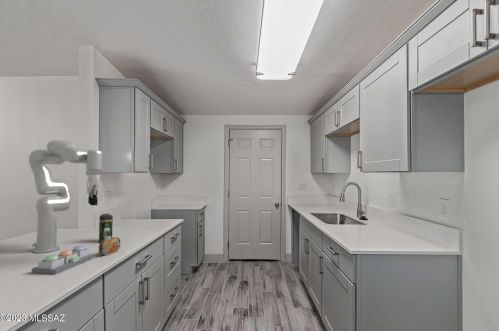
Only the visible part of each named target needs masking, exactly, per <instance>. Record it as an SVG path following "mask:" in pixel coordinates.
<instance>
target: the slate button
mask: <svg viewBox="0 0 499 331" xmlns="http://www.w3.org/2000/svg"><path fill="white" fill-rule="evenodd" d="M72 250H73V252H81V251H84V250H85V245H77V246H74V247H73V249H72Z"/></svg>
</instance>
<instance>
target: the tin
mask: <svg viewBox="0 0 499 331" xmlns="http://www.w3.org/2000/svg"><path fill="white" fill-rule="evenodd" d="M120 248H121V240H120V238H119V237H118V236H116V237H113V236H112V238H110V239H107V240H104V241H102V242H101V243H100V242H99V245H98V253H99V254H100V256H107V257H108V256H110V255H111V254H114V253H116V252H118V251H119V249H120Z"/></svg>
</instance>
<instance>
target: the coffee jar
mask: <svg viewBox="0 0 499 331" xmlns="http://www.w3.org/2000/svg"><path fill="white" fill-rule="evenodd" d="M113 220H114V217H113V215H112V214H110V213H102V214H100V215H99V220H98V221H99V222H98V223H99V224H98V225H99V226H98V241H99V244H100V243H101V242H102V241H104V240H107V239H110V238H113V222H114V221H113Z"/></svg>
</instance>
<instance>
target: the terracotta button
mask: <svg viewBox="0 0 499 331" xmlns="http://www.w3.org/2000/svg"><path fill="white" fill-rule="evenodd" d="M72 250H73V249H72ZM72 250H71V249H69V250H68V249H67V250H61V251H60V252H59V254H60V256H64V257H67V256H70V255H72Z"/></svg>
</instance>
